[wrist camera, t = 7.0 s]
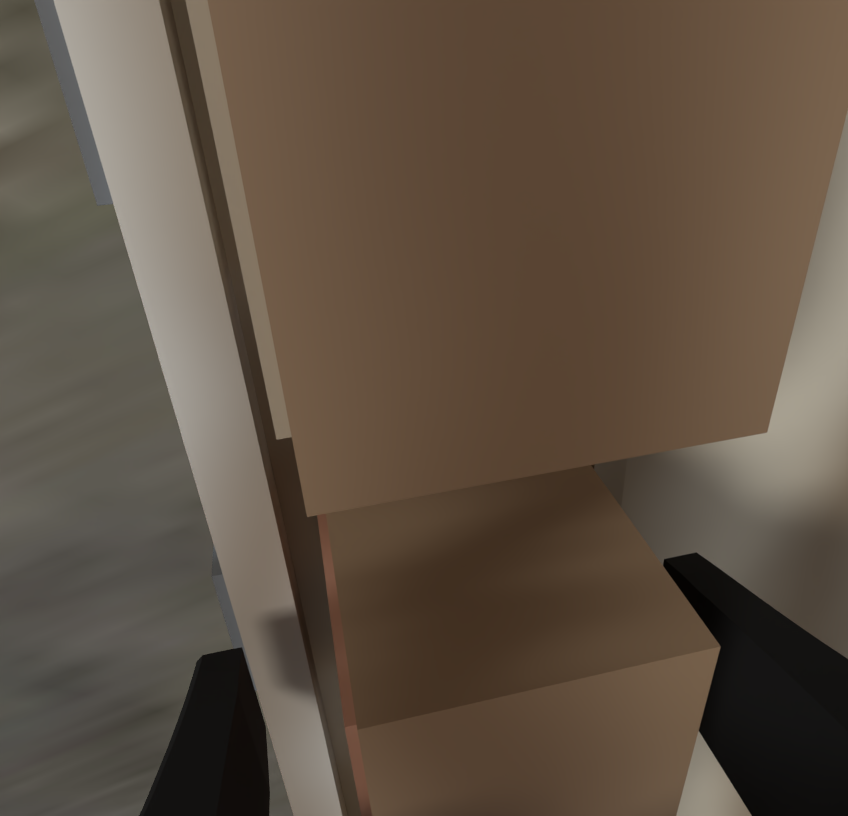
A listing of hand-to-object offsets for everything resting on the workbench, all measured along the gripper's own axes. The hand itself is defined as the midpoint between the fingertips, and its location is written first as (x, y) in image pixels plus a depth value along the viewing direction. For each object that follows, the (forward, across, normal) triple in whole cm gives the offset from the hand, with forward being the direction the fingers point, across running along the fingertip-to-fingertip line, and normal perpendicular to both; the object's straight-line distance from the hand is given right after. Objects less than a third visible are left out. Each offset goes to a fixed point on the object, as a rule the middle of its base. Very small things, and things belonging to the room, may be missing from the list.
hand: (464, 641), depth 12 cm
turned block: (+2, 0, 0) cm, 2 cm away
